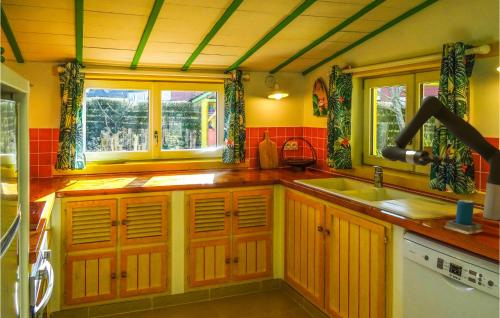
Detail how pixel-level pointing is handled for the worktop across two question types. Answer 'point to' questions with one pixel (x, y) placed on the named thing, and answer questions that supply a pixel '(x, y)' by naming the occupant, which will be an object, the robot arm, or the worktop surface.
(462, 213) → the beverage can
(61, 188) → the worktop surface
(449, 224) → the grey square tray
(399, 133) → the robot arm
